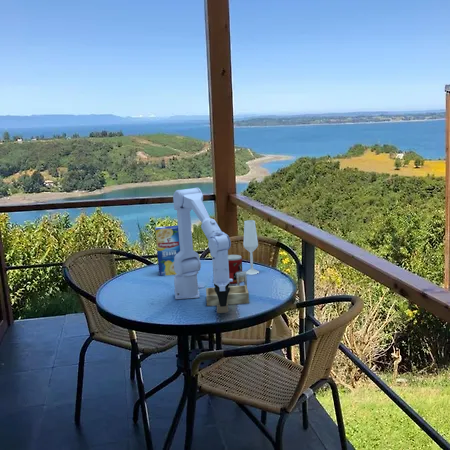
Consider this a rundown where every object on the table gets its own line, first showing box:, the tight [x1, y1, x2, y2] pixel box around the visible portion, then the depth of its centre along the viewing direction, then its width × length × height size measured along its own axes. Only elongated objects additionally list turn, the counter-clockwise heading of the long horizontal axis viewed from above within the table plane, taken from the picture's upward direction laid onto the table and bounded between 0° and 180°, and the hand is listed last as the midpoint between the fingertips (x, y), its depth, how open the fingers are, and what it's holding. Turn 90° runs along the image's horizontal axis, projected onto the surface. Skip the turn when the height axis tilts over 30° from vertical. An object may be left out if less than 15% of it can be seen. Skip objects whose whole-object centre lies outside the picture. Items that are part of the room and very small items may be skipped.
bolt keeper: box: [236, 270, 248, 286], centre depth 207 cm, size 4×4×8 cm
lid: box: [216, 303, 229, 314], centre depth 186 cm, size 16×10×4 cm, turn 92°
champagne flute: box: [242, 219, 260, 275], centre depth 232 cm, size 7×7×24 cm
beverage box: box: [154, 224, 180, 277], centre depth 239 cm, size 7×11×22 cm, turn 98°
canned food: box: [228, 254, 243, 285], centre depth 222 cm, size 8×8×11 cm
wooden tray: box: [205, 284, 250, 307], centre depth 197 cm, size 16×10×4 cm, turn 92°
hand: (223, 304), depth 185 cm, fingers open, 3 cm apart
